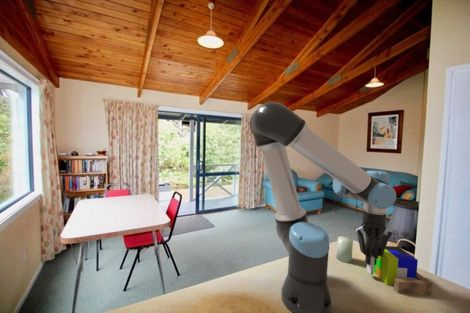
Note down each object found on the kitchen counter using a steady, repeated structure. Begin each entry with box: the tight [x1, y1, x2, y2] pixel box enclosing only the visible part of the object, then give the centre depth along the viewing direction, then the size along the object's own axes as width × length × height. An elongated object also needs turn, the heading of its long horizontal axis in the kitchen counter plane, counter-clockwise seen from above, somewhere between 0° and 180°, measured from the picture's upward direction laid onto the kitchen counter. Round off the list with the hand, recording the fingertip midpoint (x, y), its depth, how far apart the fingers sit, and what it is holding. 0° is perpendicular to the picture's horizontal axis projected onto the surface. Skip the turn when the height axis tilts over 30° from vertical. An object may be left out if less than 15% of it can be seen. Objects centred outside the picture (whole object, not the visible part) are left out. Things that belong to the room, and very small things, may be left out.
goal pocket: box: [393, 272, 433, 296], centre depth 83 cm, size 11×18×4 cm, turn 177°
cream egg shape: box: [336, 235, 354, 264], centre depth 96 cm, size 6×6×9 cm
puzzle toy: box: [373, 245, 419, 286], centre depth 83 cm, size 10×10×10 cm
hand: (369, 272), depth 84 cm, fingers closed
